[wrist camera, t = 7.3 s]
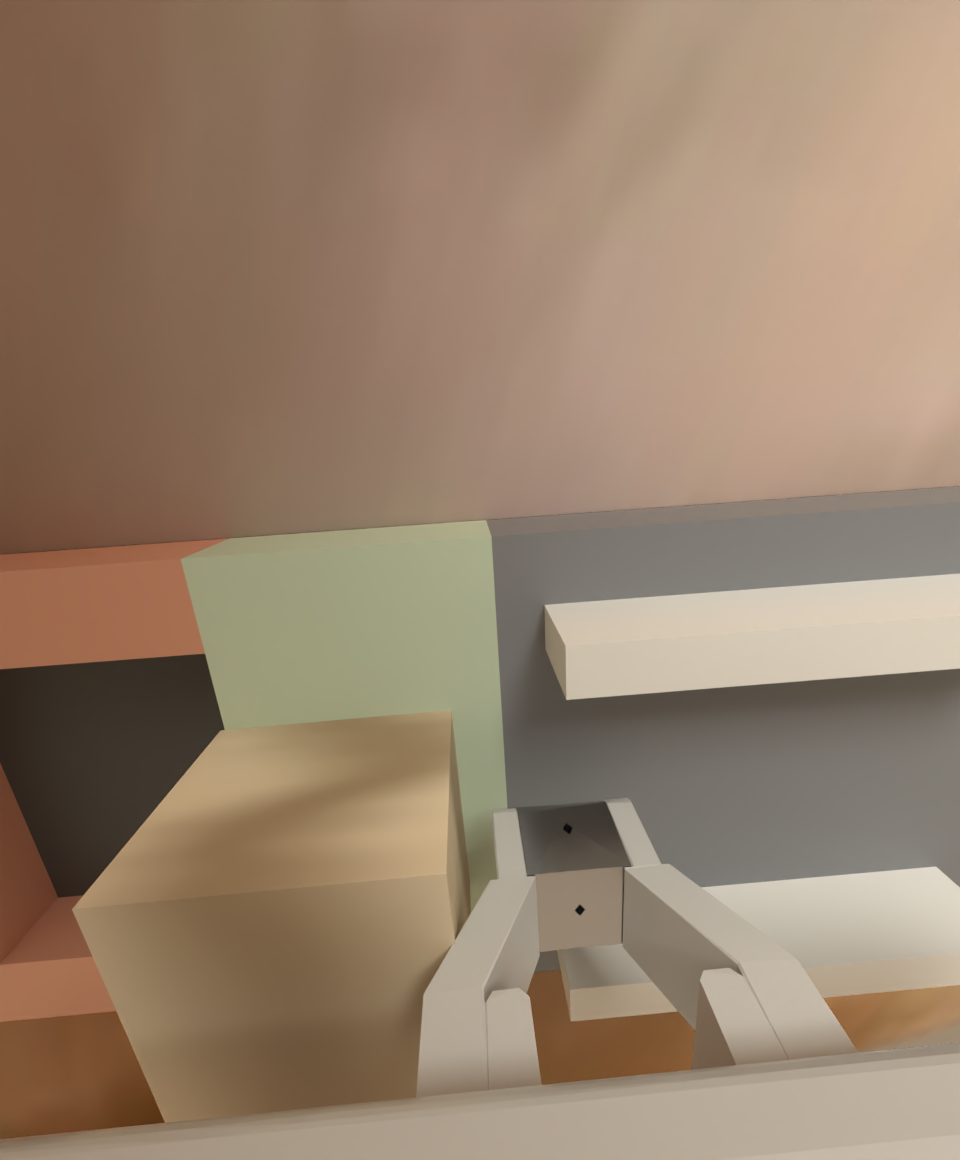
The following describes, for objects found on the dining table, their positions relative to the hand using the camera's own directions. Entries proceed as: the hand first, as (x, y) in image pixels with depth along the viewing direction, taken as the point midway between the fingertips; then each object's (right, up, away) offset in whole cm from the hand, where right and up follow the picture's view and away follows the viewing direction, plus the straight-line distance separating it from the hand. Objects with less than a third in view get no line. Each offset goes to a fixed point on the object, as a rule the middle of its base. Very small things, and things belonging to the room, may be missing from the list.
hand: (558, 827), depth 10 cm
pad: (-4, +1, +3) cm, 5 cm away
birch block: (-5, 0, +1) cm, 5 cm away
